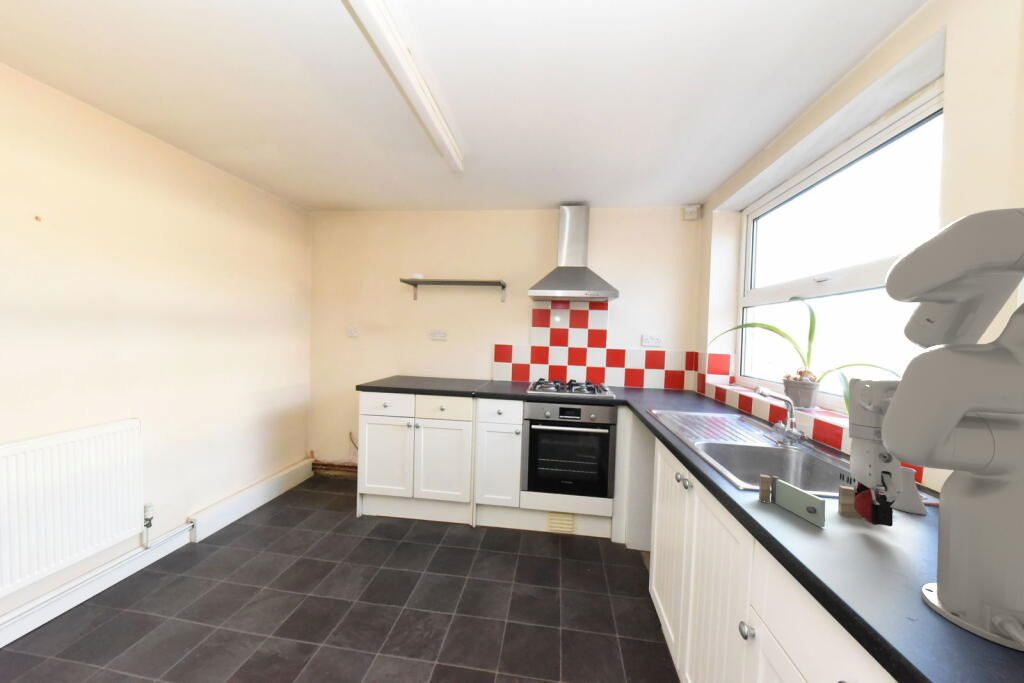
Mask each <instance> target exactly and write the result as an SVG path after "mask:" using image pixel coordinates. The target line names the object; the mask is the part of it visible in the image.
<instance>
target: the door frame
mask: <svg viewBox="0 0 1024 683" xmlns="http://www.w3.org/2000/svg"><path fill="white" fill-rule="evenodd" d="M771 478H772V477H770V475H767V474H759V481H758V482H759V486H758V488H759V489H758V490H759V492H758V500H759V499H760V500H761V501H765V502H764V503H766V502H769V503H768V504H770V503H771ZM855 492H856V491H854V486H853V487H852V486H851V487H850V486H846V485H845V486H844V485H838V501H837V502H838V505H837V506H838V508H837V512H838V514H840V516H845V515H847V516H846V517H851V518H858V519H862V520H863V519H864V518H863V517H861V516H860V515H859V514H858V513H857V511H856V509H855V508H854V499H855ZM879 494H881V495H882V493H879ZM760 500H759V501H760ZM761 501H760V502H761ZM864 520H865V519H864Z"/></svg>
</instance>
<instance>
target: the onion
mask: <svg viewBox="0 0 1024 683" xmlns="http://www.w3.org/2000/svg"><path fill="white" fill-rule="evenodd" d="M881 495H882V493H881V494H879V493H878V498H879V497H880V496H881ZM871 503H873V499H872V493H871V489H868V490H866V491H862V492H860V493H859V494H858V495H857V496H856V497H855V499H854V506H855V509H856V511H857V513H858V514H859V515H860V516H861V517H863V518H864V520H865V521H866V522H868V523H869V524H871V525H873V526H876V525H878V524H874V523H872V522H871ZM863 518H862V519H863Z"/></svg>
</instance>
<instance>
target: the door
mask: <svg viewBox="0 0 1024 683" xmlns="http://www.w3.org/2000/svg"><path fill="white" fill-rule="evenodd" d="M770 478H771V484H770V503H774V504H777V505H779V506H781V507H782V508H784V509H786V510H788V511H789V512H791V513H793V514H795V515H798V516H799V517H800V518H803V519H804V520H806V521H808V522H810V523H812V524H813V525H816V526H818V527H820V528H825V526H826V525H825V524H826V522H825V519H826V499H823V498H822V497H819V496H817V495H815V494H813V493H811V492H808V491H806V490H804V489H802V488H799V487H797V486H795V485H793V484H791V483H790V482H789V483H788V482H786V481H785V480H782V479H780V477H779V476H776V475H771V477H770Z"/></svg>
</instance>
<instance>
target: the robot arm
mask: <svg viewBox="0 0 1024 683" xmlns="http://www.w3.org/2000/svg"><path fill="white" fill-rule="evenodd" d="M1023 279H1024V207H1018V208H1016V207H1015V208H1014V207H1013V208H999V209H990V210H983V211H979V212H976V213H975V212H974V213H971V214H968V215H966V216H963V217H961V218H959V219H958V220H956V221H954V222H951V223H949V224H948V225H947V226H945V227H943V228H941V229H940V230H938V231H936V233H933V234H932V235H930V236H928V237H926V239H923V240H922V241H921V242H919V243H917V244H916V245H914V246H912V247H910V249H908V250H907V251H906V252H904V253H903V254H902V255H901V256H899V258H897V260H896V261H895V262H894V263H893V264H892V266H891V267H890V269H889V270H888V272H887V274H886V277H885V283H884V285H885V288H884V289H885V291H886V293H887V294H888V296H889V297H890V298H891V299H893V300H895V301H896V302H900V303H918V304H917V306H916V308H915V309H914V311H913V312H912V314H911V315H910V318H909V319H908V322H907V323H906V325H905V326H904V330H903V334H904V337H906V339H907V340H909V341H910V342H912V343H913V344H915V345H916V346H918V347H920V348H922V349H924V350H922V351H920V352H919V353H918V354H917V355H915V356H914V357H913V358H912V359H911V360H910V362H909V363H908V364H907V366H906V368H905V370H904V372H903V374H902V376H901V377H880V376H863V375H862V376H861V375H860V376H853V377H852V378H850V380H849V381H848V438H850V439H851V442H850V455H849V470H850V472H849V474H850V475H851V477H852V478H853V479H852V481H853V483H854V485H853V488H854V491H856V492H855V497H856V496H857V495H858V494H859V493H860V492H862V491H866V490H868V489H871V493H872V499H873V503H871V522H872V523H874V524H877V525H881V526H886V527H892V526H893V519H894V517H893V516H894V515H893V514H894V510H893V509H894V508H893V507H894V502H895V500H896V499H897V498H898V494H900V493H902V471H901V467H902V463H903V464H906V465H911V466H914V467H919V468H926V469H934V470H935V469H937V470H947V471H948V470H949V471H952V472H951V473H950V475H948V477H947V478H946V479H945V481H944V482H943V483H942V486H941V487H940V488H941V489H940V492H939V500H938V501H939V505H938V525H937V526H938V529H937V531H938V532H937V563H936V564H937V565H936V582H931V583H925V584H923V585H922V587H921V590H920V591H921V592H920V593H921V598H922V599H923V601H924V602H925V603H926V604H927V605H928V606H929V607H930V608H931V609H932V610H933V611H934V612H936V613H937V614H939V615H940V616H942V617H943V618H944V619H946V620H948V621H949V622H951V623H953V624H954V625H957V626H958V627H961V628H962V629H964V630H965V631H966V630H967V631H969V632H971V633H972V634H975V635H976V636H979V637H981V638H983V639H986V640H988V641H991V642H993V643H996V644H999V645H1002V646H1005V647H1007V648H1011V649H1013V650H1014V649H1015V650H1017V651H1021V652H1024V302H1023V303H1021V304H1020V305H1019V306H1018V307H1017V308H1016V309H1015V310H1014V311H1013V313H1012V314H1011V315H1010V317H1009V318H1008V322H1007V323H1006V325H1005V327H1004V328H1003V330H1002V331H1001V333H1000V334H999V335H998V337H997V338H996V339H994V340H992V341H991V342H987V343H979V340H981V338H982V337H983V335H984V334H985V333H986V331H987V330H988V328H989V327H990V326H991V324H992V322H994V320H995V319H996V317H997V316H998V314H999V313H1000V311H1001V310H1002V309H1003V307H1004V306H1005V304H1007V302H1008V301H1009V299H1011V296H1012V295H1013V293H1014V292H1015V291H1016V289H1017V288H1018V286H1019V285H1020V283H1021V282H1022V281H1023ZM880 488H883V489H880ZM878 493H881V496H880V497H879V498H878ZM854 508H855V506H854Z"/></svg>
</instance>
